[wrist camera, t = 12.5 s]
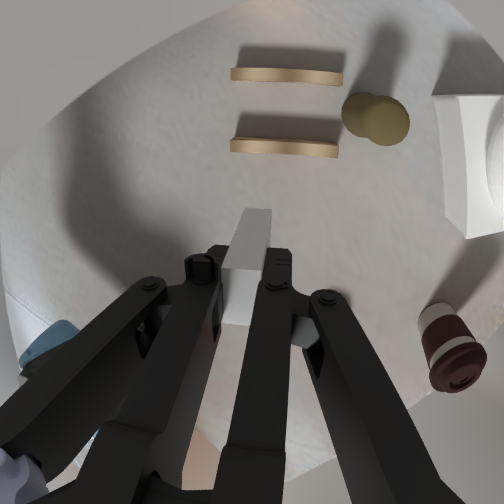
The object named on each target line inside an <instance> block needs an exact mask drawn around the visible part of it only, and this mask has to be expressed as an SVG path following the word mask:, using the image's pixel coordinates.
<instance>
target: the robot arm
mask: <svg viewBox="0 0 504 504" xmlns="http://www.w3.org/2000/svg"><path fill="white" fill-rule="evenodd" d="M271 217H272V209H256V208H245V209H244V212H243V214H242V216H241V219H240V221H239V224H238V226H237V229H236V231H235V234H234V236H233V239H232V241H231V244H230V246H226V245H214V246H212V247H211V248H209V249H208V251H207V253H200V254H194V255H191V256H189V257H187V258H186V259H185V260H184V262H185V272H186V280H185V282H184V283H183V284H181V285H174V286H166V282H165V280H164V279H162V278H160V277H154V276H151V277H146V278H143V279H140V280H139V281H137V282H136V283H135V284H134V285H132V286H131V287H130V288H129V289H128V290H127V291H125V292H124V293H123V294H122V295H121V296H120V297H118V298H117V299H116V300H115V301H114V302H113V303H111V304H110V305H109V306H108V307H107V308H106V309H105V310H103V311H102V312H101V313H100V314H99V315H98V316H97V317H95V318H94V319H93V320H92V321H91V322H90V323H89V324H88V325H86V326H85V327H84V328H83V329H82V330H81V331H80V330H79V329H78V328H77V327H75V326H74V325H73V324H72V323H71V322H69V321H67V320H59V321H57V322H55V323H54V324H52V325H51V326H50V327H49V328H48V329H46V330H45V331H44V332H43V333H42V334H41V335H40V336H39V337H38V338H37V339H36V340H35V341H34V342H33V343H32V344H31V345H30V346H29V348H28V349H27V350H26V351H25V352H24V353H23V354H22V355H21V357H20V358H19V365H20V367H21V368H23V370H22V372H21V373H20V375H19V376H18V382H19V389H18V390H17V391H16V392H15V393H14V394H13V395H12V396H11V397H10V398H9V399H8V400H7V401H6V402H5V403H4V404H3V405H2V406H1V407H0V504H282V498H283V486H284V475H285V461H286V452H285V439H286V424H287V408H288V391H289V371H290V349H291V344H293V345H296V346H299V347H302V352H303V355H304V358H305V361H306V364H307V367H308V370H309V373H310V376H311V379H312V382H313V385H314V388H315V391H316V394H317V397H318V400H319V403H320V406H321V409H322V412H323V415H324V418H325V421H326V424H327V427H328V430H329V433H330V436H331V439H332V443H333V446H334V449H335V452H336V455H337V458H338V461H339V464H340V467H341V470H342V473H343V477H344V480H345V483H346V486H347V489H348V492H349V495H350V499H351V501H352V504H465V503H464V502H463V501H462V500H461V499H460V498H459V497H458V496H457V495H456V494H455V493H454V492H453V491H452V490H451V489H450V488H449V487H448V486H447V485H446V484H445V483H444V482H443V481H442V480H441V479H440V477H439V475H438V472H437V470H436V468H435V466H434V464H433V462H432V460H431V458H430V456H429V454H428V451H427V449H426V447H425V445H424V443H423V441H422V439H421V437H420V435H419V433H418V431H417V429H416V427H415V426H414V423H413V421H412V419H411V417H410V415H409V413H408V411H407V409H406V407H405V406H404V404H403V402H402V400H401V398H400V396H399V394H398V392H397V390H396V388H395V387H394V385H393V383H392V381H391V379H390V377H389V375H388V374H387V372H386V370H385V368H384V366H383V364H382V363H381V361H380V359H379V357H378V355H377V354H376V352H375V350H374V348H373V347H372V345H371V343H370V341H369V339H368V338H367V336H366V334H365V332H364V331H363V329H362V327H361V325H360V324H359V322H358V320H357V319H356V317H355V315H354V313H353V312H352V310H351V308H350V307H349V305H348V303H347V302H346V300H345V298H344V297H343V296H342V295H341V294H340V293H338V292H336V291H333V290H329V289H321V290H317V291H315V292H313V293H312V294H311V296H307V295H304V294H301V293H299V292H298V291H296V290H295V289H294V288H293V286H292V254H291V252H290V251H289V250H288V249H283V248H270V240H271ZM222 317H223V323H225V324H235V325H246V326H250V328H249V333H248V339H247V344H246V349H245V354H244V359H243V364H242V369H241V374H240V379H239V385H238V390H237V395H236V400H235V405H234V410H233V415H232V420H231V424H230V429H229V434H228V439H227V443H226V445H225V446H224V447H223V449H222V452H221V457H220V461H219V465H218V470H217V474H216V480H215V484H214V488H213V490H182V489H181V488H182V470H183V466H184V462H185V459H186V455H187V451H188V448H189V444H190V441H191V437H192V433H193V430H194V426H195V423H196V419H197V415H198V412H199V408H200V405H201V401H202V398H203V394H204V391H205V387H206V384H207V380H208V376H209V373H210V369H211V366H212V362H213V359H214V355H215V352H216V348H217V345H218V341H219V338H220V334H221V320H222ZM141 324H142V325H141ZM92 436H93V437H94V441H93V443H92V445H91V447H90V449H89V451H88V454H87V456H86V458H85V460H84V462H83V465H82V467H81V469H80V471H79V474H78V476H77V478H76V479H75V480H73V481H72V482H70V483H68V484H66V485H64V486H62V487H60V488H58V489H56V490H54V491H52V492H50V493H49V490H48V488H47V487H46V484H47V483H48V482H50V481H51V480H53V479H54V478H55V477H57V476H58V475H59V474H60V473H61V472H63V471H64V469H65V468H66V467H67V466H68V465H69V464H70V463H71V462H72V461H73V459H74V458H75V457H76V456H77V455H78V453H79V452H80V451H81V450H82V448H83V447H84V446H85V445H86V444H87V442H88V441H89V440H90V439H91V437H92Z"/></svg>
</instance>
